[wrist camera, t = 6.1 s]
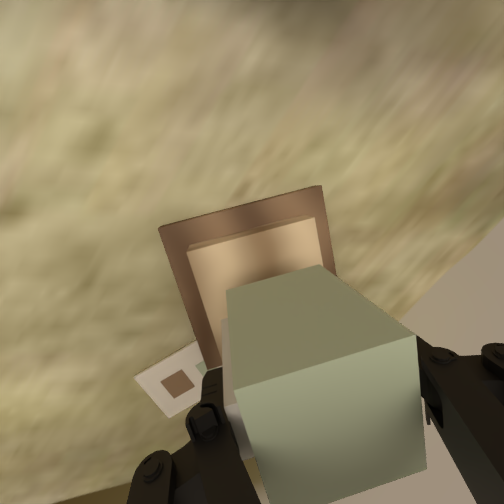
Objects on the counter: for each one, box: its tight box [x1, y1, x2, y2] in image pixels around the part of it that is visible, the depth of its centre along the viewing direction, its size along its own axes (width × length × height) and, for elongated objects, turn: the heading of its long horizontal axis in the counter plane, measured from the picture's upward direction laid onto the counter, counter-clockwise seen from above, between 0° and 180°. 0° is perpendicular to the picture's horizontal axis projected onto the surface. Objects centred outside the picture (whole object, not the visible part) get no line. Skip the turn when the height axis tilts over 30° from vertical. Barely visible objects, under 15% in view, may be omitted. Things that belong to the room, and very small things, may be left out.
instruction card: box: [134, 340, 223, 418], centre depth 25 cm, size 9×6×1 cm, turn 119°
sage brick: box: [226, 264, 427, 504], centre depth 13 cm, size 6×6×8 cm
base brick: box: [158, 185, 337, 370], centre depth 22 cm, size 14×14×4 cm
